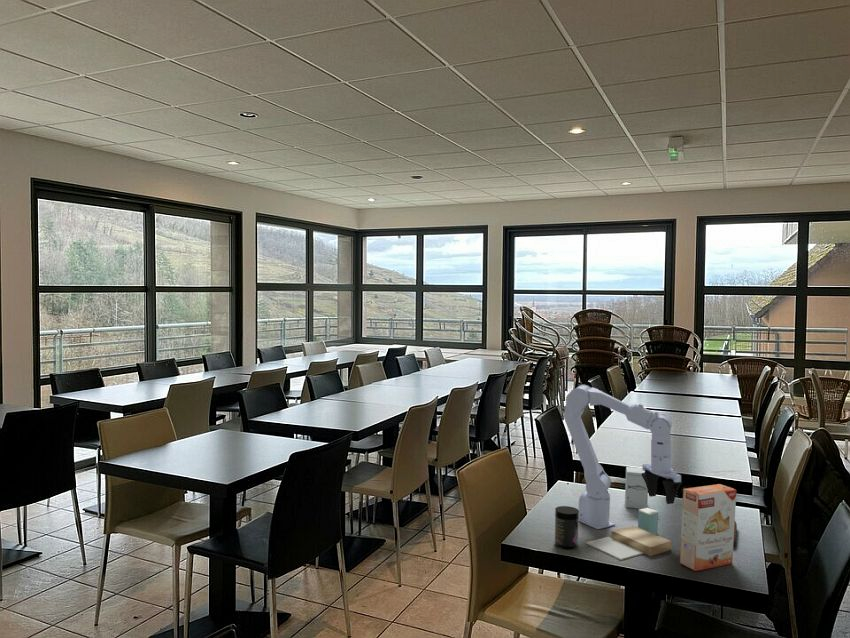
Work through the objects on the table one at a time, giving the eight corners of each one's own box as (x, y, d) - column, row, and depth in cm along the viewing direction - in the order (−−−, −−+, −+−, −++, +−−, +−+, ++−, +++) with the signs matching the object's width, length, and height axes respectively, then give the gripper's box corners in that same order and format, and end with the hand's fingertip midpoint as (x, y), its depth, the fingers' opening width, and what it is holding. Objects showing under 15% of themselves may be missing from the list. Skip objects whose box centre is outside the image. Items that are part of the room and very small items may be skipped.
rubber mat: (586, 543, 184) (586, 542, 184) (607, 537, 188) (607, 536, 188) (620, 560, 172) (620, 558, 172) (643, 553, 177) (643, 552, 177)
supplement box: (624, 507, 215) (625, 471, 215) (624, 501, 222) (625, 465, 222) (647, 510, 213) (648, 473, 213) (646, 503, 220) (648, 467, 220)
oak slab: (611, 538, 188) (611, 530, 187) (632, 533, 192) (632, 525, 192) (650, 556, 176) (650, 547, 175) (671, 549, 180) (671, 541, 180)
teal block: (637, 532, 193) (638, 509, 193) (646, 529, 195) (647, 507, 195) (648, 536, 190) (649, 513, 190) (657, 534, 192) (658, 511, 192)
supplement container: (572, 552, 177) (573, 515, 177) (550, 546, 181) (551, 510, 181) (581, 544, 183) (582, 509, 182) (559, 538, 187) (560, 504, 186)
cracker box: (696, 572, 165) (699, 494, 165) (678, 563, 171) (681, 488, 170) (734, 564, 171) (737, 488, 170) (716, 555, 177) (719, 482, 176)
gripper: (689, 459, 185) (689, 505, 186) (655, 449, 199) (655, 491, 199) (670, 462, 183) (670, 508, 183) (636, 451, 197) (637, 494, 197)
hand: (661, 499), depth 191 cm, fingers open, 7 cm apart
